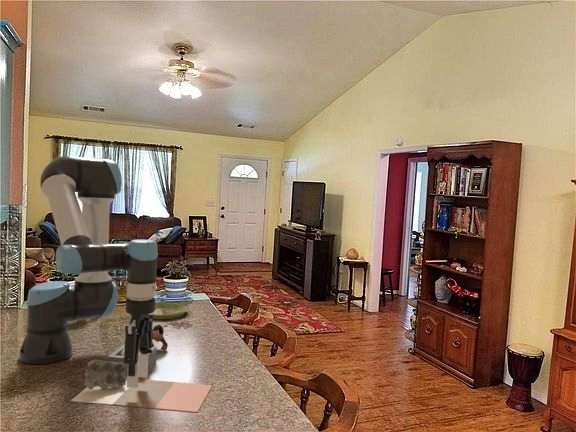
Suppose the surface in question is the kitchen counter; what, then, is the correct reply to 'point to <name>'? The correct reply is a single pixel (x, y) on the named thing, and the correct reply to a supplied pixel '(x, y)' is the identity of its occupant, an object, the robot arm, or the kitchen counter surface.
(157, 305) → the saucer
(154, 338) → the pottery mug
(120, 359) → the housing
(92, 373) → the egg carton
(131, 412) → the kitchen counter surface
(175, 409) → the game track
